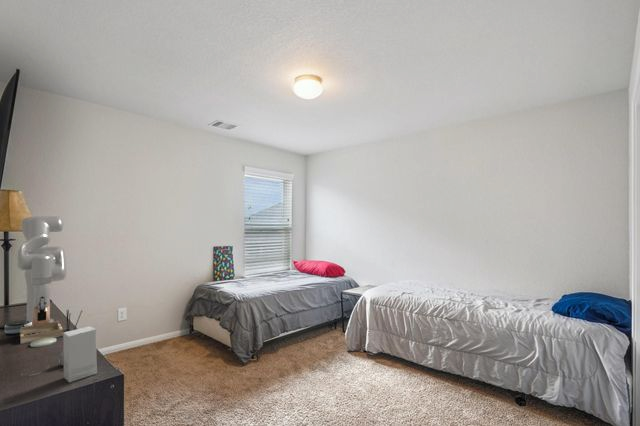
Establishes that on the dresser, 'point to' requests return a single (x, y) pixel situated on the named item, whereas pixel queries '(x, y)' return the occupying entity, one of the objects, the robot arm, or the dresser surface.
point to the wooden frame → (36, 329)
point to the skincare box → (79, 353)
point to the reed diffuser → (61, 358)
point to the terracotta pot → (43, 322)
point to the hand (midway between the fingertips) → (41, 318)
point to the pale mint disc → (43, 342)
